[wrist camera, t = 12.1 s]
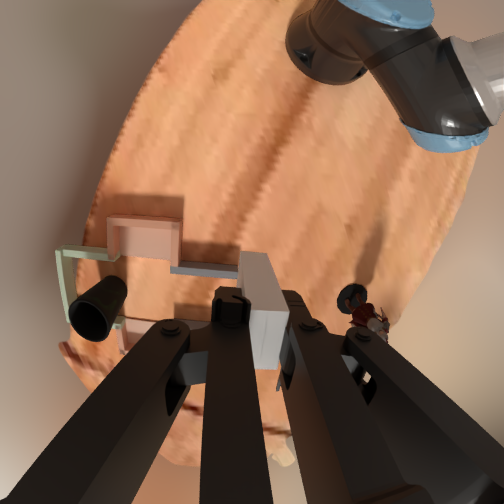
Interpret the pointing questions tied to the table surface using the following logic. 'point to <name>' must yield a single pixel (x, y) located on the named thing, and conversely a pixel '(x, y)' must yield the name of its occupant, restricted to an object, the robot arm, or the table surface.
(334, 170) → the table surface
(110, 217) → the track
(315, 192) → the table surface
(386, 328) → the figurine
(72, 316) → the cup
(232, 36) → the table surface
